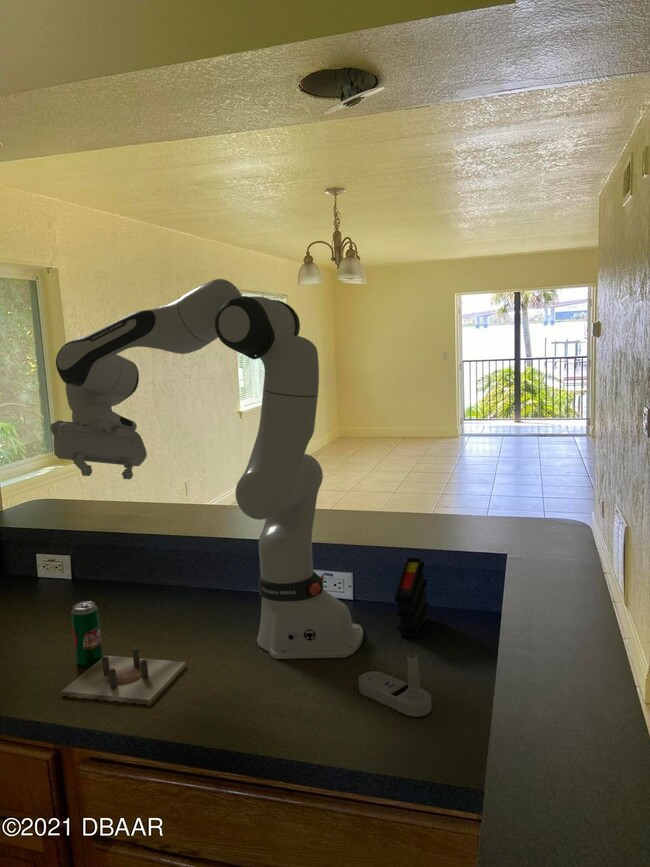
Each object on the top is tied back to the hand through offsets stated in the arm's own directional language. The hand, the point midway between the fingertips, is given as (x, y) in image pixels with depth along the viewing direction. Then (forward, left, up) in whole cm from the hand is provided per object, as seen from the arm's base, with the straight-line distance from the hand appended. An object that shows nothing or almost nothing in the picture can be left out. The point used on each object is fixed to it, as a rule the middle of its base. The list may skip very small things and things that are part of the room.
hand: (108, 476), depth 139 cm
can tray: (-11, +18, -36) cm, 42 cm away
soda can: (+1, +12, -36) cm, 38 cm away
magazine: (-62, -12, -36) cm, 73 cm away
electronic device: (-62, +16, -37) cm, 74 cm away
